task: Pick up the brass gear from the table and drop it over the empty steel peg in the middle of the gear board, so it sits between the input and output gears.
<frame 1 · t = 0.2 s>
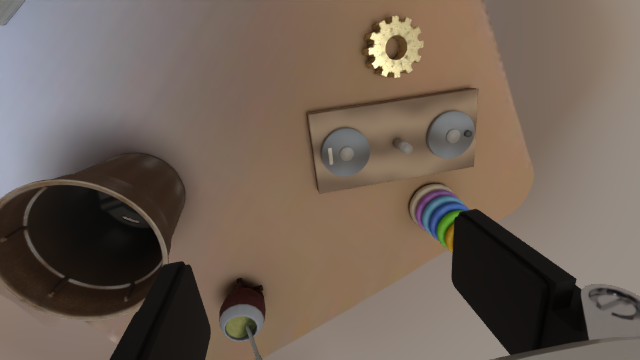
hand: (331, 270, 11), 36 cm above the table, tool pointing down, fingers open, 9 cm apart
stacking toy: (429, 203, 53), on the table
plant pot: (142, 193, 46), on the table
mate gourd: (248, 291, 54), on the table
gear board: (392, 139, 48), on the table
brass gear: (388, 48, 43), on the table
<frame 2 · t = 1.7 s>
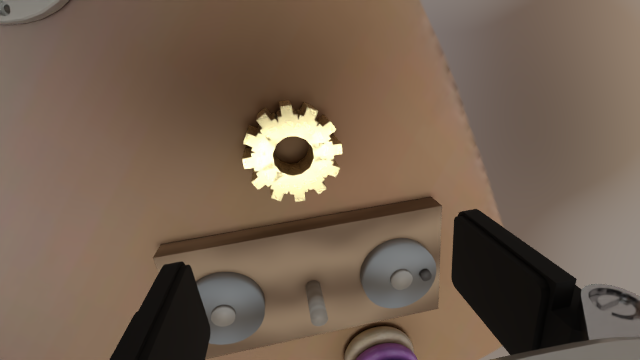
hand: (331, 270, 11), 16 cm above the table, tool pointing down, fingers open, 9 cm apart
stacking toy: (375, 347, 36), on the table
gear board: (310, 272, 31), on the table
brass gear: (290, 146, 26), on the table
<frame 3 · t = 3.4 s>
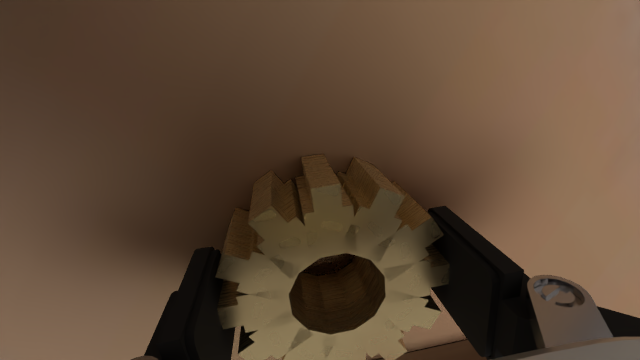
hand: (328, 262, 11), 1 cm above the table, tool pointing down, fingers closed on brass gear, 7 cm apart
brass gear: (323, 243, 12), on the table, touching gripper
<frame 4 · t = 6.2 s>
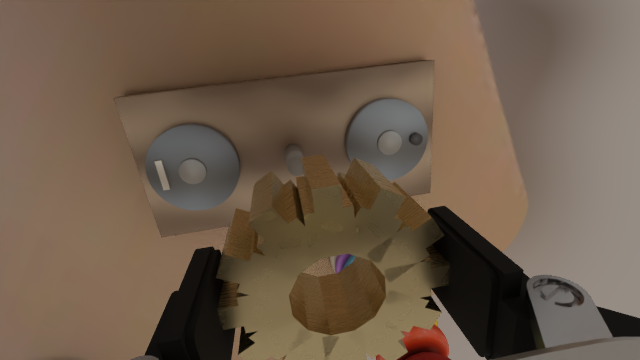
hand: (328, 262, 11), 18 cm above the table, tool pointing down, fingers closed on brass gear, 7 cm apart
stacking toy: (363, 246, 34), on the table
gear board: (291, 145, 28), on the table
brass gear: (323, 244, 12), point 17 cm above the table, touching gripper
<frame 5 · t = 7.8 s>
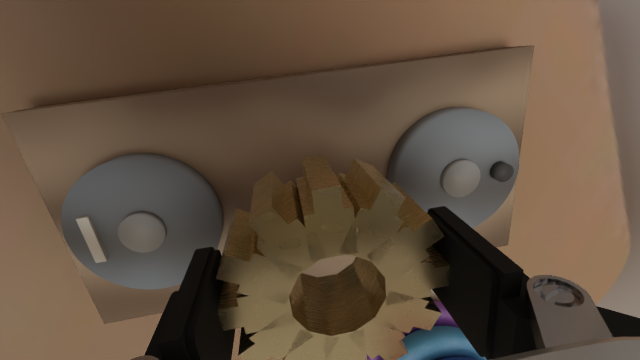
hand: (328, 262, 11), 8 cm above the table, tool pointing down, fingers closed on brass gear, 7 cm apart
stacking toy: (402, 313, 24), on the table
gear board: (302, 179, 19), on the table
brass gear: (323, 244, 12), point 7 cm above the table, touching gripper
when the fingers open (5 cm above the table, at t = 9.0 s): brass gear drops 2 cm, resting on gear board.
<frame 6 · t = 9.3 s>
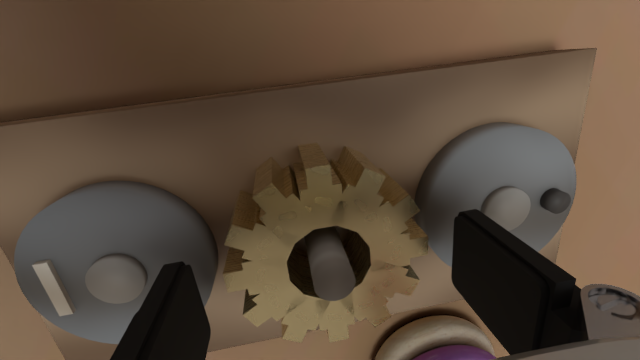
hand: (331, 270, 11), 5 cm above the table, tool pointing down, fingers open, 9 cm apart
stacking toy: (424, 352, 21), on the table
gear board: (312, 206, 16), on the table
brass gear: (318, 224, 14), point 2 cm above the table, touching gear board
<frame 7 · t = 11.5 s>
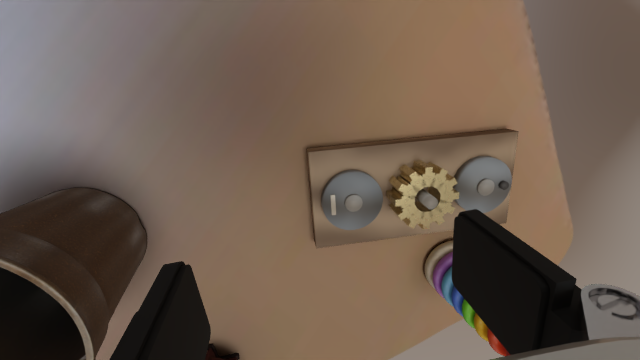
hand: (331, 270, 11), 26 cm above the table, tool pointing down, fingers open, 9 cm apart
stacking toy: (448, 261, 44), on the table
plant pot: (92, 237, 36), on the table
mate gourd: (220, 359, 44), on the table
gear board: (409, 185, 39), on the table
brass gear: (416, 190, 37), point 2 cm above the table, touching gear board
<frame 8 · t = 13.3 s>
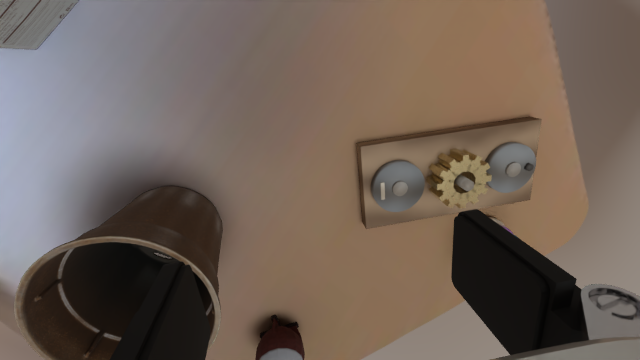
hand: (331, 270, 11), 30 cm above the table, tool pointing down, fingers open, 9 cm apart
plant pot: (176, 227, 42), on the table
mate gourd: (282, 328, 51), on the table
gear board: (444, 170, 45), on the table
brass gear: (452, 174, 43), point 2 cm above the table, touching gear board
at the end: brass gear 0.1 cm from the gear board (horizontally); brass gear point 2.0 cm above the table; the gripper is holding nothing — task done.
